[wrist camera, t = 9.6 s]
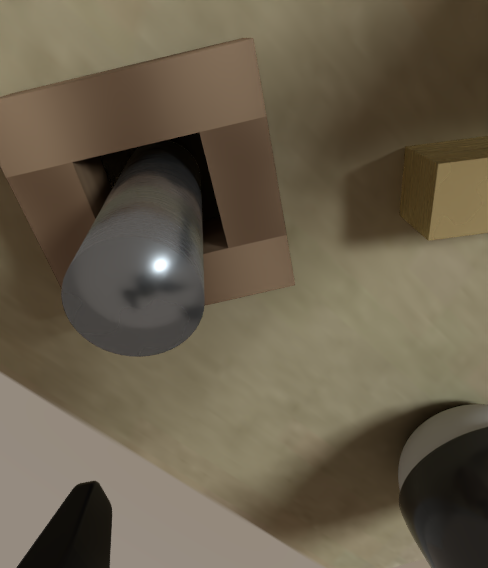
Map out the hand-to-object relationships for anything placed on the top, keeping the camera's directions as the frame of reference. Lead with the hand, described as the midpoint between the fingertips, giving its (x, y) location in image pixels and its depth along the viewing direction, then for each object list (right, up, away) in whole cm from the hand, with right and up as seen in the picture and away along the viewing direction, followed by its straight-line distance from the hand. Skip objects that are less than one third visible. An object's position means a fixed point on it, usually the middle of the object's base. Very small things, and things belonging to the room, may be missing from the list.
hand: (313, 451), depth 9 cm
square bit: (+10, +9, +11) cm, 17 cm away
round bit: (-5, +8, +10) cm, 13 cm away
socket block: (-5, +8, +10) cm, 13 cm away
